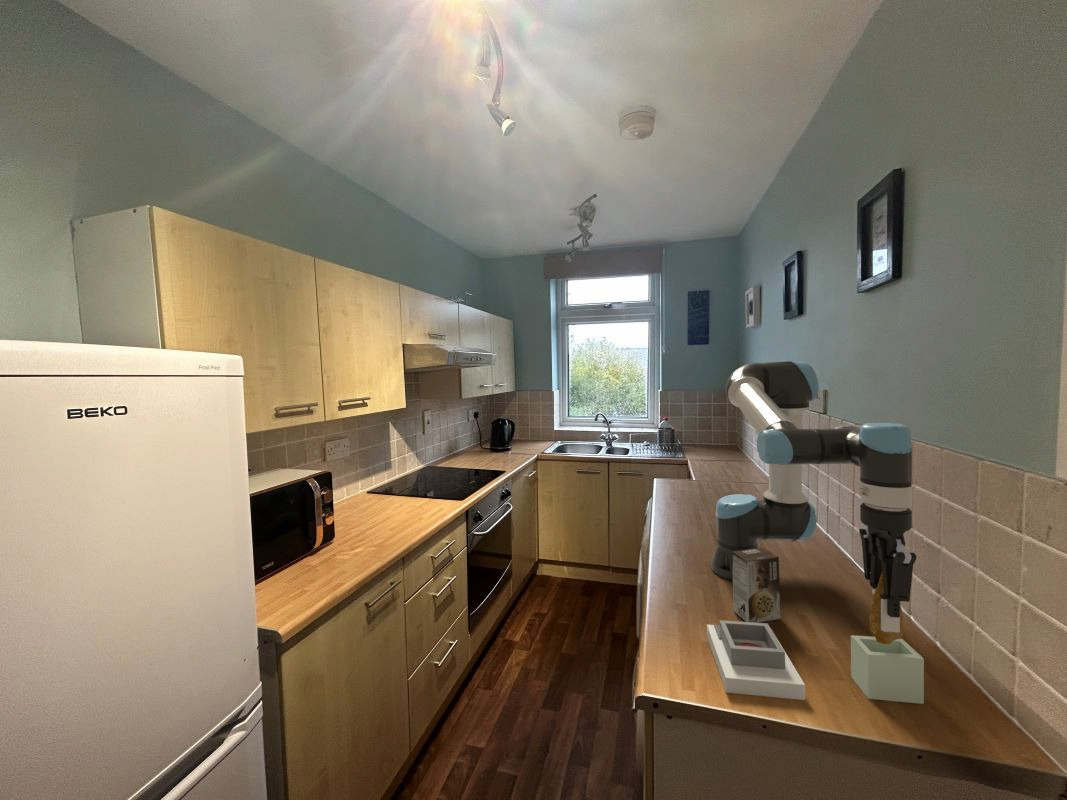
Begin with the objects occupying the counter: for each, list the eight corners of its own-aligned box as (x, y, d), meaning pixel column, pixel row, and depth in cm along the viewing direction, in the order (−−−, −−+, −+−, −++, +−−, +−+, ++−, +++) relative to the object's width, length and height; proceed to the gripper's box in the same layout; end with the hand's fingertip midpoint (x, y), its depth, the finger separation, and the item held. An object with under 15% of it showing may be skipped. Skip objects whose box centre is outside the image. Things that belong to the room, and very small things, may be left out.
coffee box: (763, 606, 112) (762, 546, 112) (781, 619, 106) (780, 556, 105) (732, 610, 111) (730, 550, 110) (748, 624, 104) (747, 560, 104)
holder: (851, 676, 86) (850, 635, 85) (902, 680, 84) (902, 638, 83) (868, 698, 80) (868, 654, 79) (923, 703, 78) (923, 658, 77)
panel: (707, 636, 100) (706, 610, 100) (771, 641, 98) (771, 614, 97) (726, 692, 83) (725, 660, 82) (805, 700, 80) (804, 666, 80)
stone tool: (895, 640, 82) (898, 566, 81) (903, 648, 80) (907, 573, 78) (866, 639, 83) (869, 565, 82) (873, 647, 81) (876, 572, 79)
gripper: (842, 494, 88) (843, 604, 89) (887, 517, 73) (887, 649, 74) (883, 494, 87) (884, 606, 88) (938, 518, 72) (937, 653, 73)
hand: (885, 626), depth 81 cm, fingers closed on stone tool, 2 cm apart
